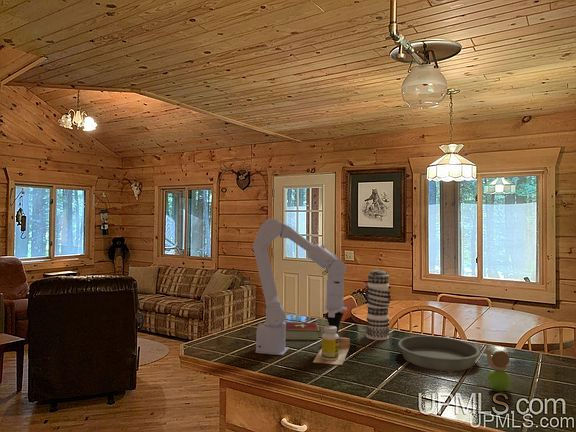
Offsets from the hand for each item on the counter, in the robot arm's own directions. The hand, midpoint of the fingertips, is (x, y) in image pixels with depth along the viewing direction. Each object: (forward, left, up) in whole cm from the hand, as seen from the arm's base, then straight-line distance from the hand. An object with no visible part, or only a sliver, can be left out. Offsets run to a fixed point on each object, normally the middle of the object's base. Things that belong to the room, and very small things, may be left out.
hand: (334, 334), depth 145 cm
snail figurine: (+46, -21, -6) cm, 51 cm away
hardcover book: (-19, +15, -6) cm, 25 cm away
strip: (0, -4, -5) cm, 7 cm away
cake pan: (+33, +2, -6) cm, 34 cm away
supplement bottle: (0, -9, -5) cm, 10 cm away
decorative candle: (+13, +23, -6) cm, 27 cm away
